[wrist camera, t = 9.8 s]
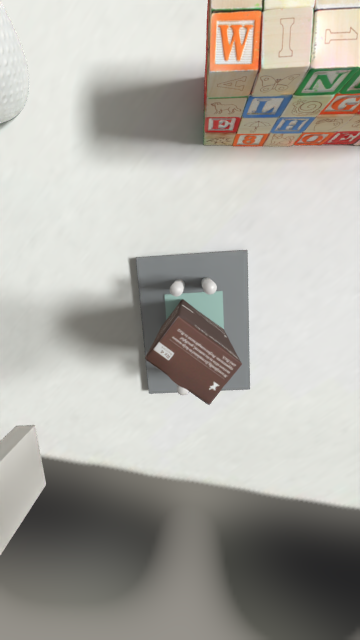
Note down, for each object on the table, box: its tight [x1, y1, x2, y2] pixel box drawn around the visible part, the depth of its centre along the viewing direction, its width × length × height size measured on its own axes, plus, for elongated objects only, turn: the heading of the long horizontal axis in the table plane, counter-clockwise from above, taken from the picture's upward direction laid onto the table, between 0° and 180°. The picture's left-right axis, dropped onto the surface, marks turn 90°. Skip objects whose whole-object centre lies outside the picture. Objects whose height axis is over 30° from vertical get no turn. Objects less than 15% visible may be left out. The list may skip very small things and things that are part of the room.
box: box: [145, 299, 242, 405], centre depth 26 cm, size 6×4×12 cm
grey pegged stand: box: [136, 250, 250, 395], centre depth 30 cm, size 12×16×7 cm
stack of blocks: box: [203, 0, 360, 146], centre depth 22 cm, size 21×6×12 cm, turn 89°
